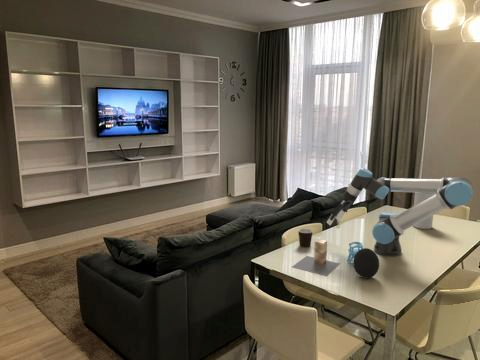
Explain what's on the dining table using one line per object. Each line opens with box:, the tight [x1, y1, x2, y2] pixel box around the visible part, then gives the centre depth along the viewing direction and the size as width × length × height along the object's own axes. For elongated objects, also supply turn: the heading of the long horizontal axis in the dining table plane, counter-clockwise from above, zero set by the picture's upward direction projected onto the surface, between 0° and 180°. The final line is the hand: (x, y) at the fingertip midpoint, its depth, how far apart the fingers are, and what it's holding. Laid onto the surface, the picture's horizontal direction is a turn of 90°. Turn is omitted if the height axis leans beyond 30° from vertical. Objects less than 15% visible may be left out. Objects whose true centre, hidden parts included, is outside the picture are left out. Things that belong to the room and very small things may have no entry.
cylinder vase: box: [412, 192, 436, 230], centre depth 272 cm, size 12×12×25 cm
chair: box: [346, 241, 364, 265], centre depth 212 cm, size 8×8×12 cm
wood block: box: [313, 238, 328, 264], centre depth 212 cm, size 5×5×12 cm
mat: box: [291, 255, 341, 277], centre depth 209 cm, size 20×19×1 cm
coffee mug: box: [297, 228, 313, 248], centre depth 239 cm, size 12×9×10 cm
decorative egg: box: [352, 247, 380, 279], centre depth 194 cm, size 12×12×15 cm
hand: (333, 221), depth 230 cm, fingers open, 13 cm apart
